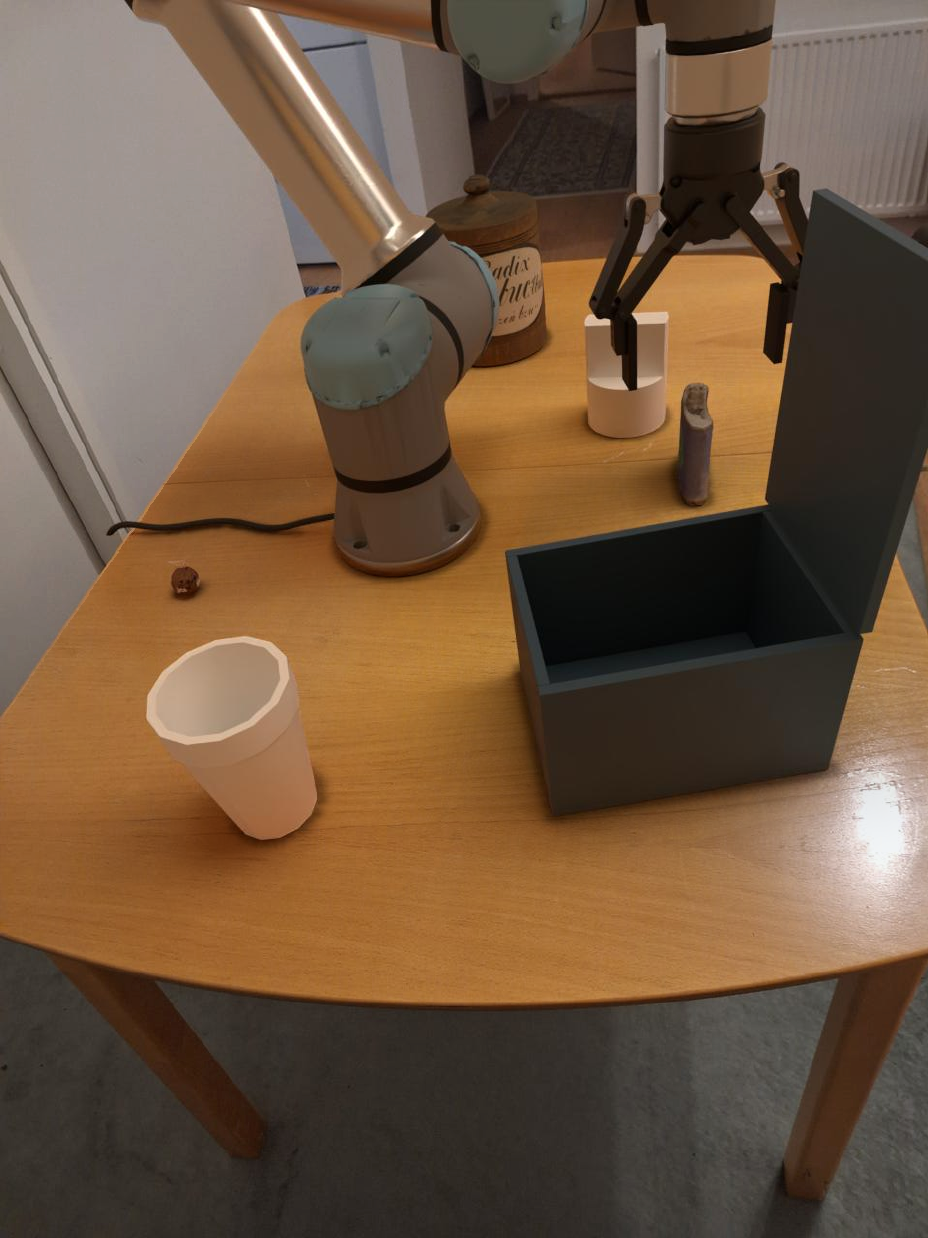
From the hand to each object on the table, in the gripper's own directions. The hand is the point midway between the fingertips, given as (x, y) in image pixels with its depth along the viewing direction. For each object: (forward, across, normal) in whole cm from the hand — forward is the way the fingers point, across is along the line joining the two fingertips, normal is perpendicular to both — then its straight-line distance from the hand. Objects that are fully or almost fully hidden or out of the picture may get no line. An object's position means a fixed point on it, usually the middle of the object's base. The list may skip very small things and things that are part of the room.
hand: (700, 371), depth 76 cm
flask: (+12, 0, 0) cm, 13 cm away
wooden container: (+12, +15, -42) cm, 46 cm away
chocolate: (+12, +53, +4) cm, 55 cm away
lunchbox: (+12, +12, +30) cm, 35 cm away
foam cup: (+12, +42, +32) cm, 54 cm away
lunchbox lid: (-11, +3, +30) cm, 32 cm away
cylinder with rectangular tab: (+12, +3, -15) cm, 20 cm away
